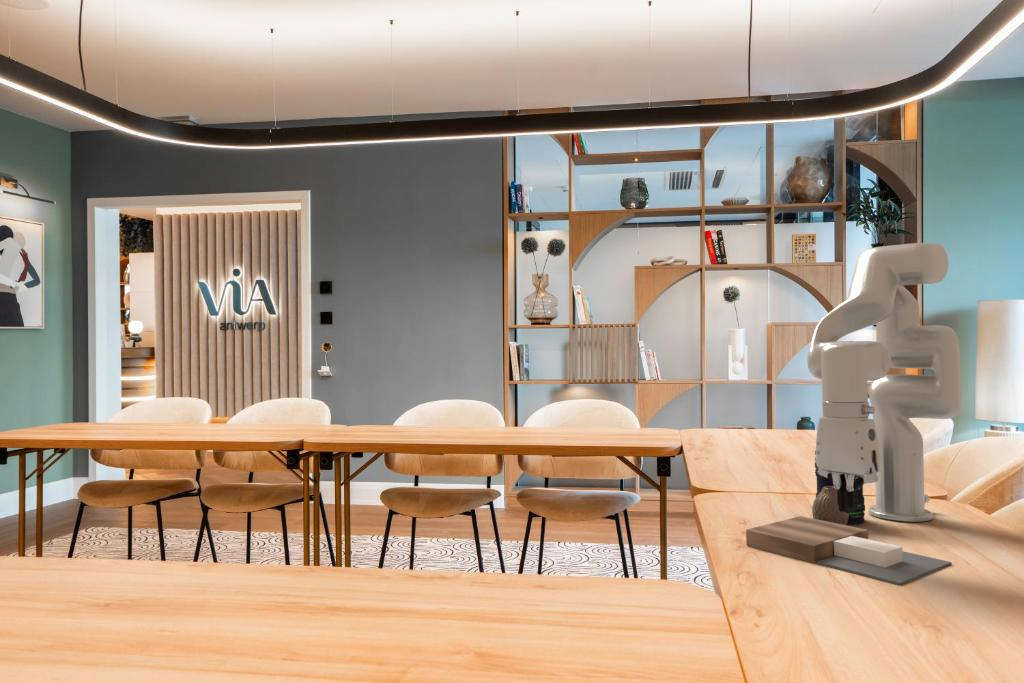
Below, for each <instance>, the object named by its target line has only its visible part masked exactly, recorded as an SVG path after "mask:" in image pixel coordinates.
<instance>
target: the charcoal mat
mask: <svg viewBox="0 0 1024 683" xmlns="http://www.w3.org/2000/svg"><path fill="white" fill-rule="evenodd" d="M816 564H817V565H820V566H823V567H829V568H831V569H832V568H833V569H836V570H840V571H844V572H847V573H852V574H855V575H860V576H863V577H866V578H870V579H874V580H879V581H882V582H886V583H890V584H894V585H897V586H901V585H904V584H907V583H909V582H912V581H914V580H917V579H919V578H921V577H924V576H926V575H929V574H932V573H934V572H936V571H939V570H941V569H944V568H946V567H948V566H951V565H952V561H949V560H944V559H938V558H936V557H935V558H934V557H930V556H926V555H921V554H917V553H913V552H908V551H903V550H902V561H901V562H899V563H896V564H893V565H891V566H888V567H881V566H876V565H872V564H868V563H864V562H860V561H856V560H852V559H848V558H844V557H840V556H832V557H829V558H826V559H823V560H820V561H817V562H816Z"/></svg>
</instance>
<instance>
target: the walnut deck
mask: <svg viewBox="0 0 1024 683" xmlns="http://www.w3.org/2000/svg"><path fill="white" fill-rule="evenodd" d="M745 530H746V532H745V536H746V538H745V539H746V540H745V541H746V542H745V543H746V545H745V546H748V547H752V548H755V549H759V550H762V551H766V552H771V553H775V554H779V555H783V556H786V557H790V558H792V559H793V558H794V559H797V560H801V561H805V562H809V563H813V564H817V561H820V560H823V559H826V558H829V557H832V556H835V555H834V541H836V540H840V539H843V538H846V537H849V536H855V537H859V538H864V539H869V531H868V529H865V528H861V527H855V526H847V525H842V524H837V523H832V522H827V521H822V520H817V519H813V517H812V518H811V517H806V516H803V515H802V516H801V515H800V516H794V517H791V518H787V519H783V520H778V521H775V522H771V523H767V524H763V525H759V526H756V527H755V526H754V527H752V528H751V527H750V528H746V529H745Z"/></svg>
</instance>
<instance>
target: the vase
mask: <svg viewBox="0 0 1024 683" xmlns="http://www.w3.org/2000/svg"><path fill="white" fill-rule="evenodd" d="M811 512H812V519H817V520H822V521H827V522H832V523H837V524H842V525H846V524H847V522H848V516H849V513H845V512H840V511H839V505H838V502H837V489H835V488H834V487H833V486H824V487H823V489H822V491H821V492H820V494H819V495H818V496H817V497H816V496H815V498H814V500H813V503H812V507H811ZM846 526H847V525H846Z"/></svg>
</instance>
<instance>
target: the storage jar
mask: <svg viewBox="0 0 1024 683" xmlns="http://www.w3.org/2000/svg"><path fill="white" fill-rule="evenodd" d="M814 455H815V457H814V460H815V462H814V467H815V472H814V473H815V477H816V493H815V498H816V497H817V496H818V495H819V494H820V492H821V491H822V489H823V487H824V486H833V487H834V484H833V483H832V482H831V481H830V480H829V478H826V477H824V476H822V475H819V474H818V468H819V467H818V466H817V463H816V449H815V450H814ZM846 475H847V478H848V474H846ZM865 511H866V504H865V496H864V485H863V486H861V488H860V489H858V507H857V510H856V511H854V512H851V513H849V516H848V522H847V524H846V526H851V527H854V526H861V525H864V524H865V522H866V520H865Z"/></svg>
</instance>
